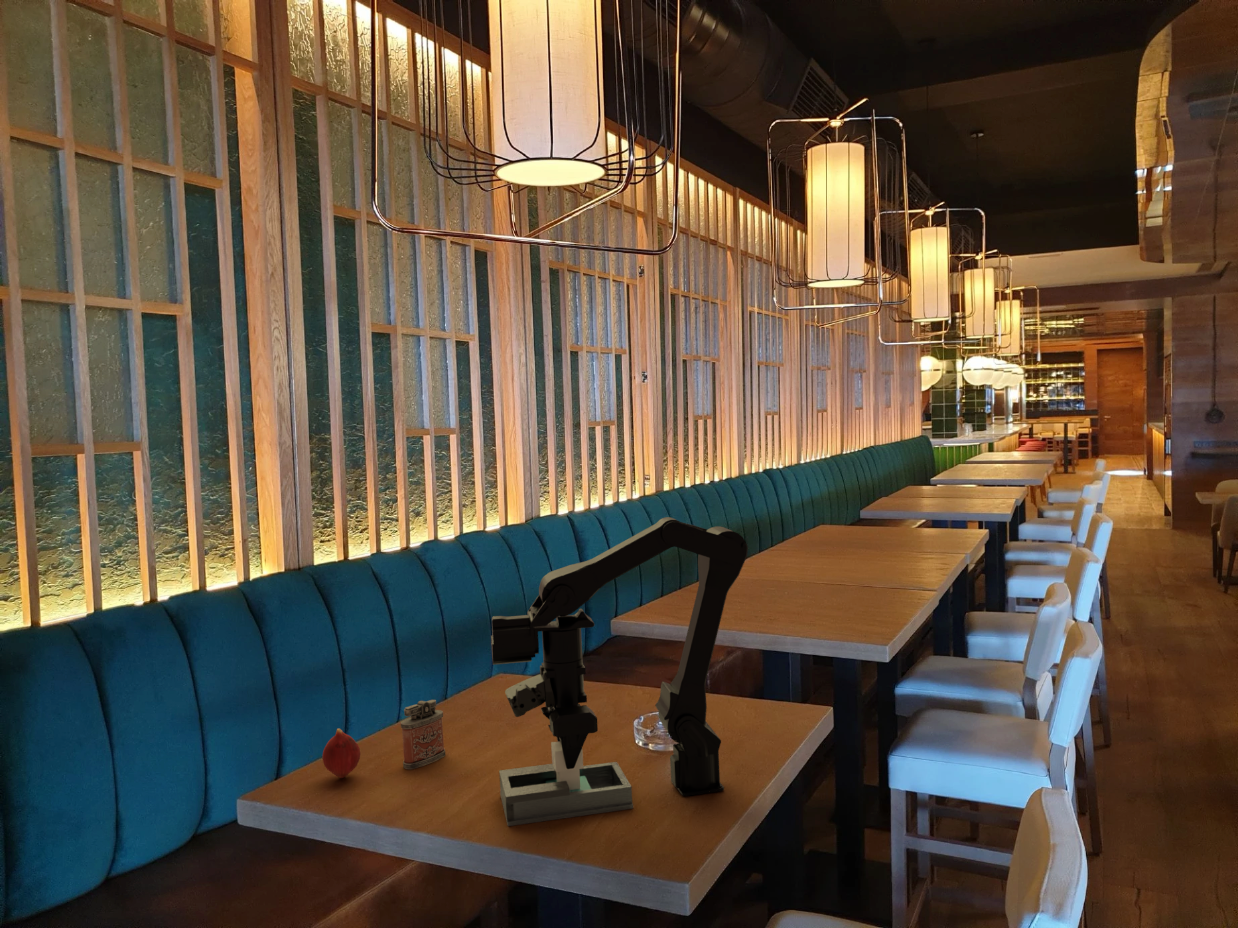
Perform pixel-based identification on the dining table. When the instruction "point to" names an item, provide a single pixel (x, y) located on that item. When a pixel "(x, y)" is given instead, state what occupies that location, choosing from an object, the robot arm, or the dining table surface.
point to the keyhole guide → (561, 793)
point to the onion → (341, 754)
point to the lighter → (422, 735)
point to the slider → (568, 770)
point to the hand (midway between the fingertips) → (567, 762)
